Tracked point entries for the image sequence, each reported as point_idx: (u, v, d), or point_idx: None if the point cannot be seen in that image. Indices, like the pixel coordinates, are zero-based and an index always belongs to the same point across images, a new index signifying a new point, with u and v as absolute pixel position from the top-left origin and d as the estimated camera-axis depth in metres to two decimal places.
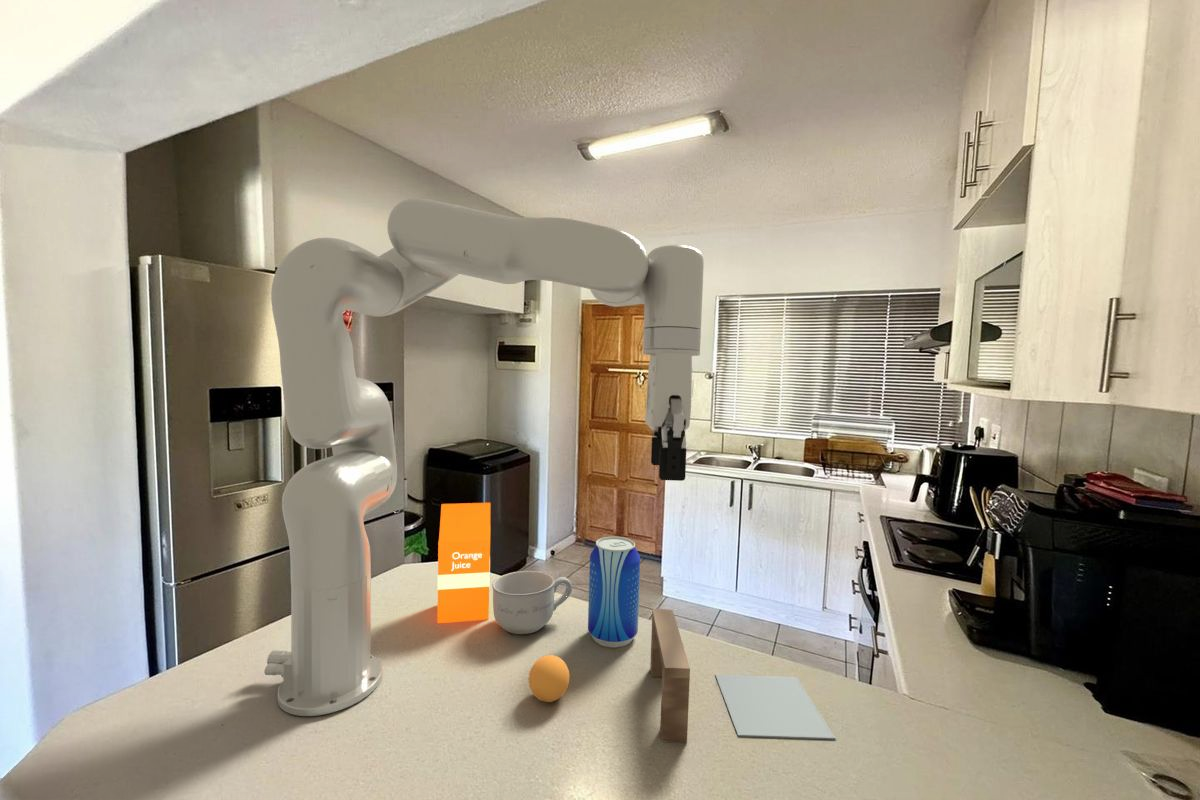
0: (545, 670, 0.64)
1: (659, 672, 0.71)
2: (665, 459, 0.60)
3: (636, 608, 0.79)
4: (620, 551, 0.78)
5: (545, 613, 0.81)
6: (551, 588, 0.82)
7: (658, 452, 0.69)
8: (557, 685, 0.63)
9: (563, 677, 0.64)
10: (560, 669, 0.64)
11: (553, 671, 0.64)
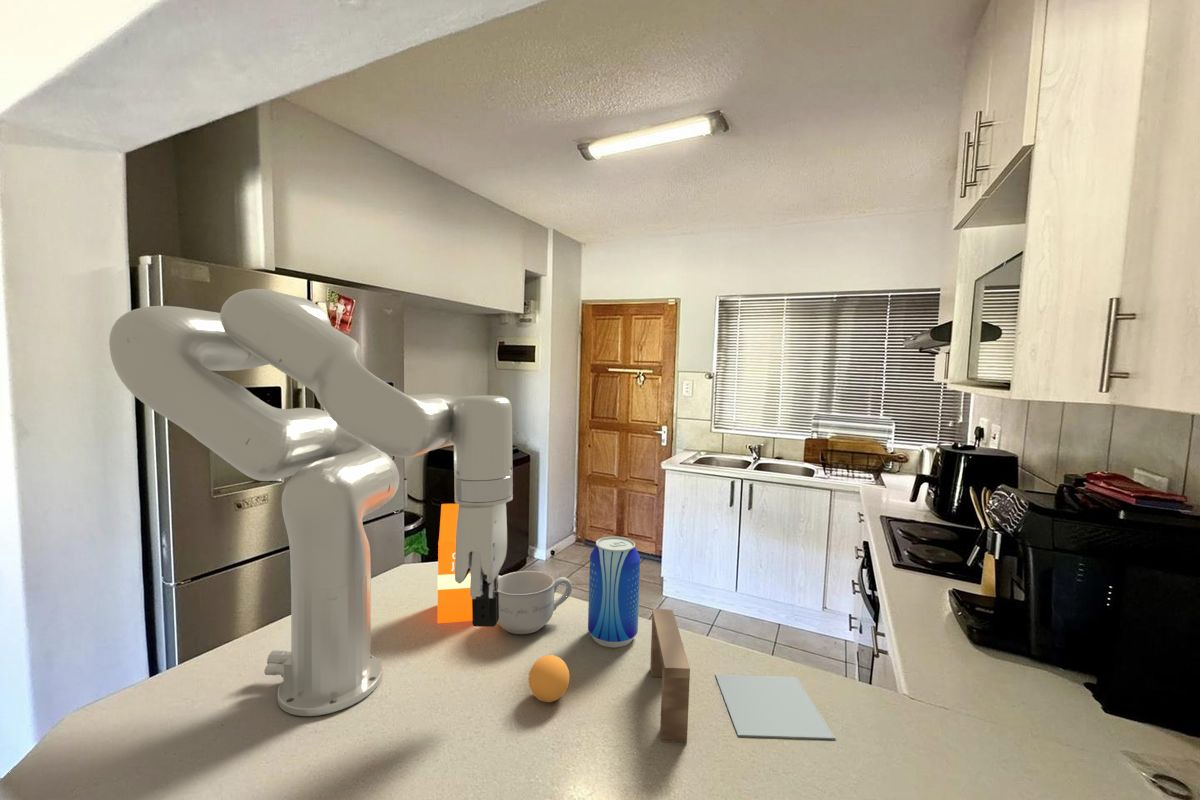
0: (545, 670, 0.64)
1: (659, 672, 0.71)
2: (477, 607, 0.64)
3: (636, 608, 0.79)
4: (620, 551, 0.78)
5: (545, 613, 0.81)
6: (551, 588, 0.82)
7: None
8: (557, 685, 0.63)
9: (563, 677, 0.64)
10: (560, 669, 0.64)
11: (553, 671, 0.64)
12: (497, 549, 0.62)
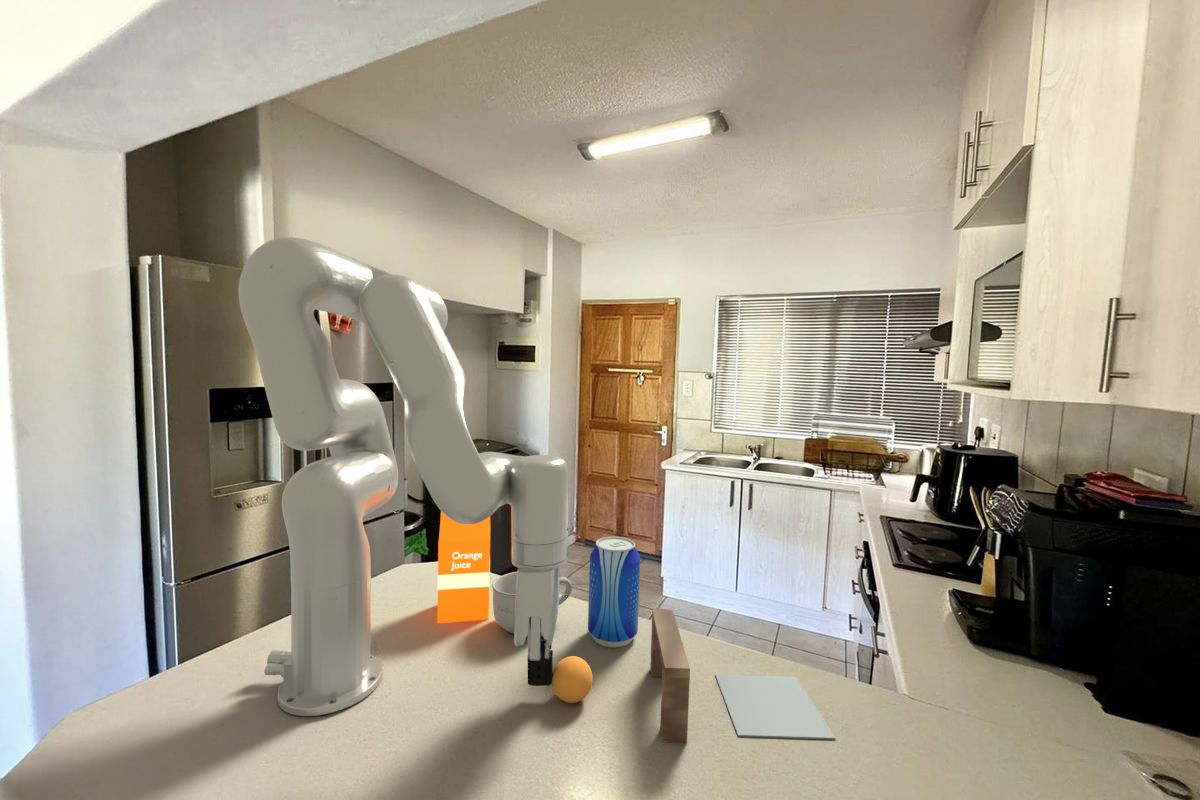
0: (582, 675, 0.64)
1: (659, 672, 0.71)
2: (532, 667, 0.65)
3: (636, 608, 0.79)
4: (620, 551, 0.78)
5: None
6: None
7: None
8: (580, 695, 0.63)
9: (587, 692, 0.64)
10: (590, 685, 0.64)
11: (587, 682, 0.64)
12: (555, 611, 0.62)
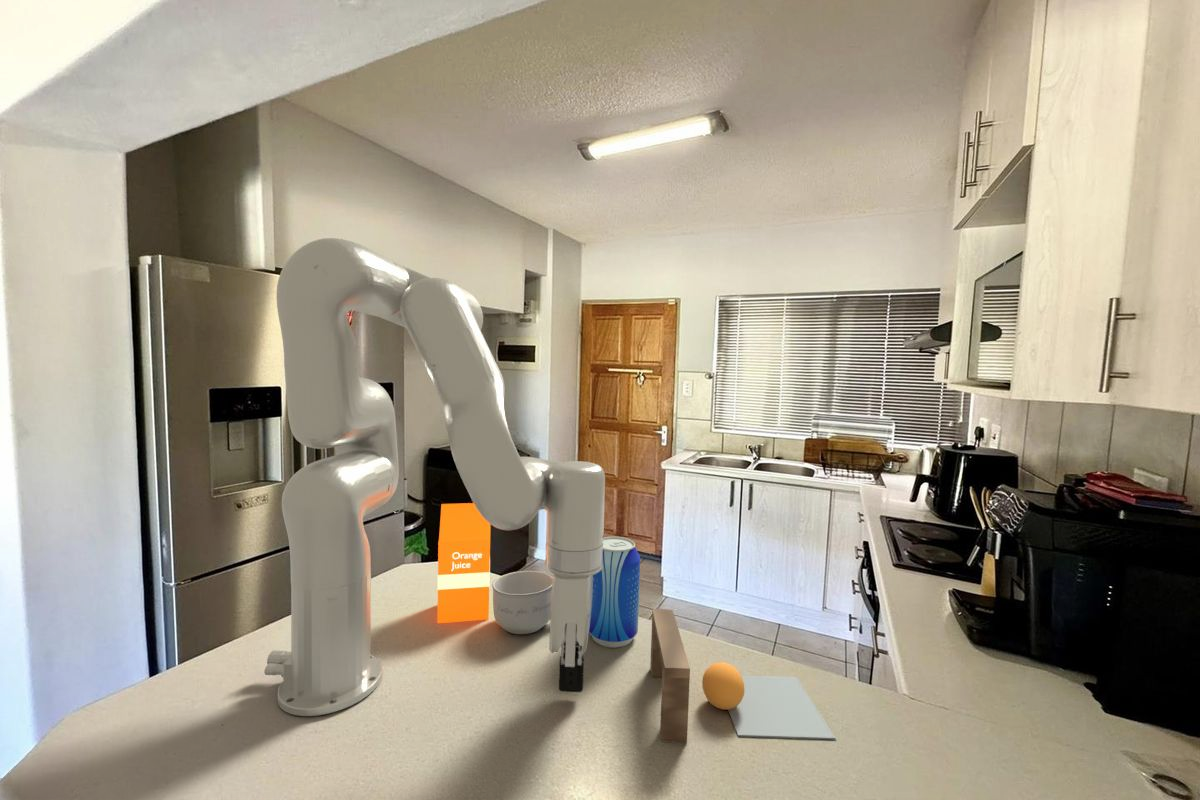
0: (742, 698, 0.63)
1: (659, 672, 0.71)
2: (564, 672, 0.65)
3: (636, 608, 0.79)
4: (620, 551, 0.78)
5: (545, 613, 0.81)
6: (551, 588, 0.82)
7: None
8: (726, 707, 0.63)
9: (726, 709, 0.64)
10: None
11: (737, 705, 0.63)
12: (589, 618, 0.62)
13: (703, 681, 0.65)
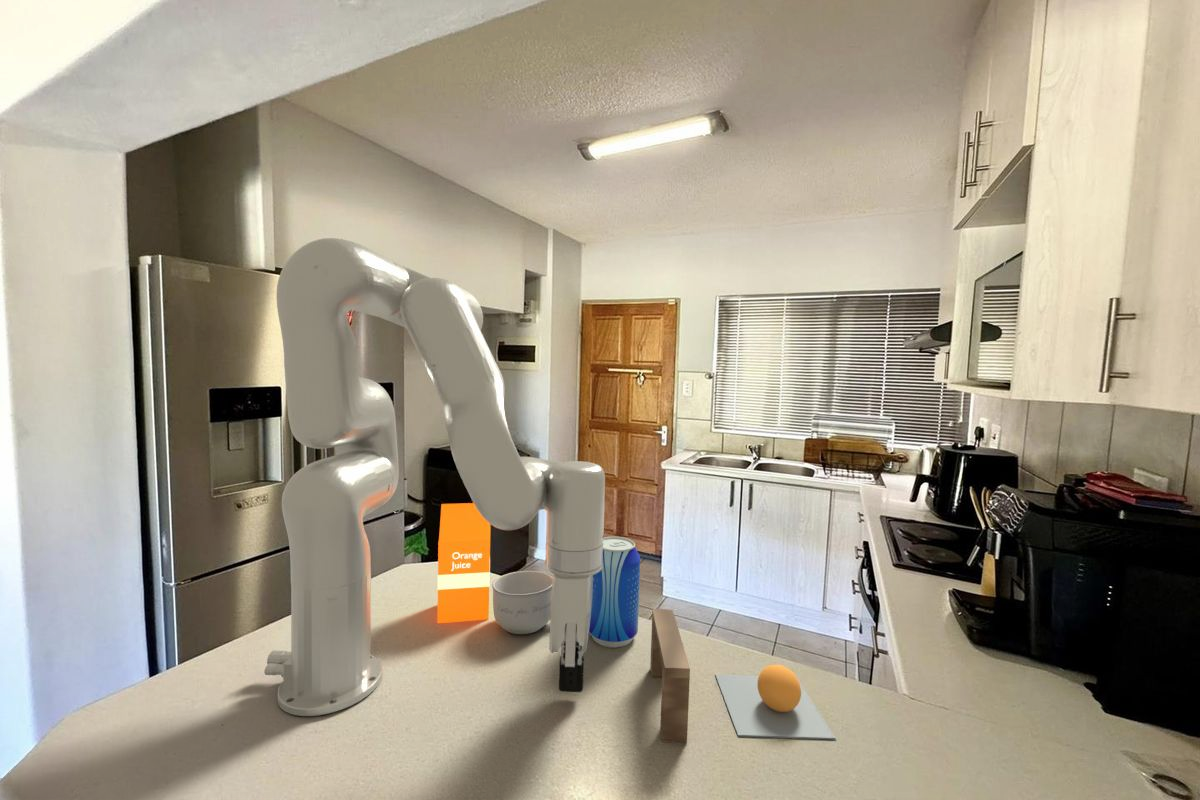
0: (767, 698, 0.63)
1: (659, 672, 0.71)
2: (564, 672, 0.65)
3: (636, 608, 0.79)
4: (620, 551, 0.78)
5: (545, 613, 0.81)
6: (551, 588, 0.82)
7: None
8: (781, 689, 0.63)
9: (774, 679, 0.63)
10: (767, 680, 0.64)
11: (767, 689, 0.63)
12: (589, 618, 0.62)
13: None
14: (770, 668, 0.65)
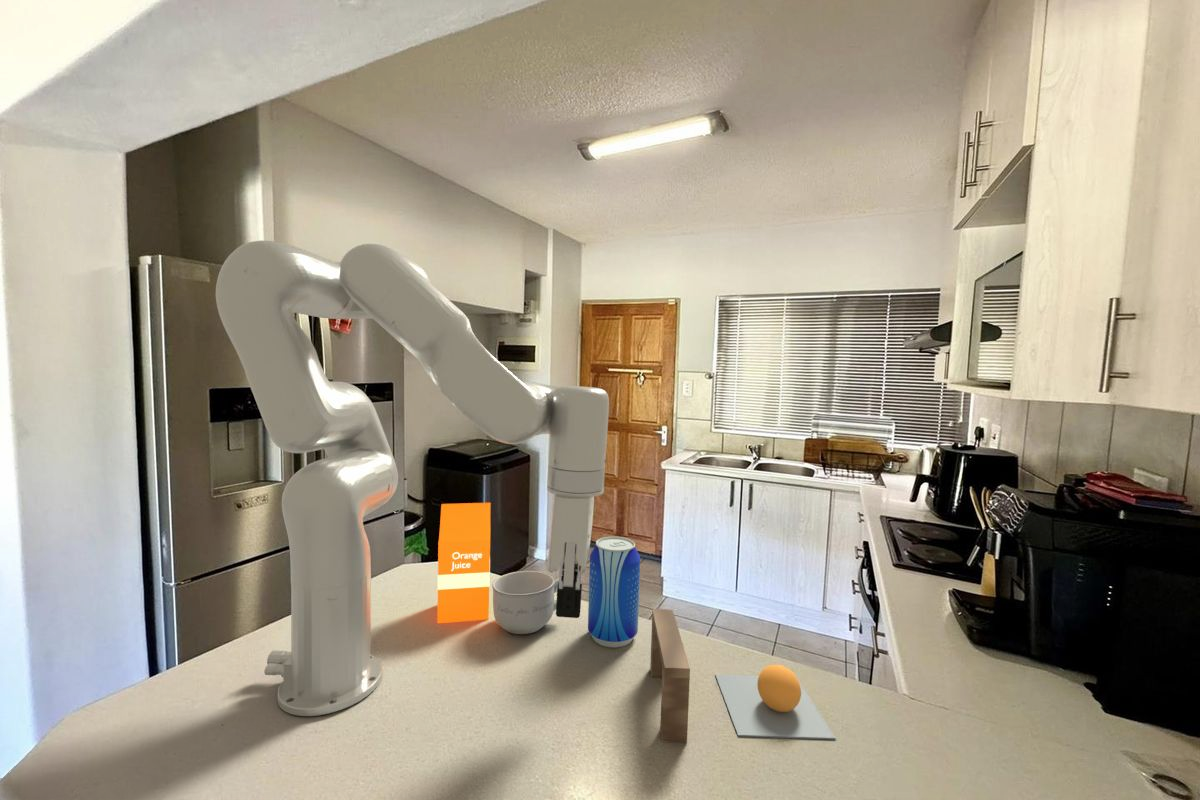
0: (767, 698, 0.63)
1: (659, 672, 0.71)
2: (561, 598, 0.64)
3: (636, 608, 0.79)
4: (620, 551, 0.78)
5: (545, 613, 0.81)
6: (551, 588, 0.82)
7: None
8: (781, 689, 0.63)
9: (774, 679, 0.63)
10: (767, 680, 0.64)
11: (767, 689, 0.63)
12: (589, 541, 0.62)
13: None
14: (770, 668, 0.65)
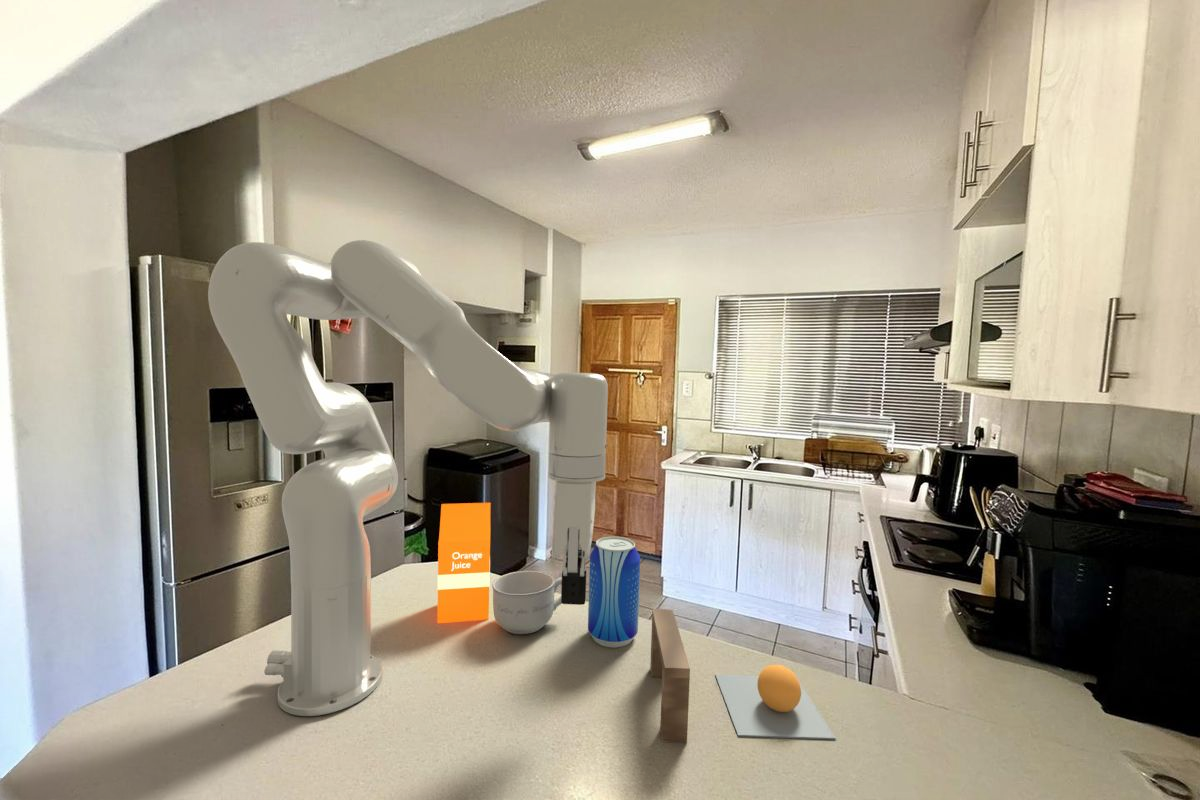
0: (767, 698, 0.63)
1: (659, 672, 0.71)
2: (566, 585, 0.64)
3: (636, 608, 0.79)
4: (620, 551, 0.78)
5: (545, 613, 0.81)
6: (551, 588, 0.82)
7: None
8: (781, 689, 0.63)
9: (774, 679, 0.63)
10: (767, 680, 0.64)
11: (767, 689, 0.63)
12: (592, 526, 0.62)
13: None
14: (770, 668, 0.65)
